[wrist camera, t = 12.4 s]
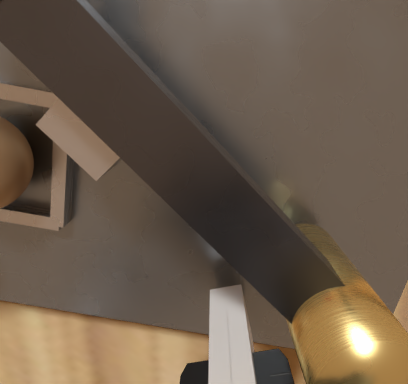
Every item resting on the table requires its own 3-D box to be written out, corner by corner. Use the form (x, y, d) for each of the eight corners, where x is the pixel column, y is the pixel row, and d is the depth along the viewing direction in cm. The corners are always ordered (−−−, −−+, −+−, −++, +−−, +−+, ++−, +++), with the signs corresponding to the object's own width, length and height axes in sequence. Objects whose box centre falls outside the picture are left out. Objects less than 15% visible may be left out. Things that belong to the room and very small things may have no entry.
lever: (277, 308, 15) (324, 472, 9) (-68, -27, 11) (-443, -179, 5) (366, 243, 14) (497, 376, 8) (17, -153, 10) (-325, -572, 4)
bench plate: (356, 335, 19) (416, 437, 14) (-83, 261, 19) (-214, 337, 13) (563, -182, 12) (876, -422, 6) (-148, -340, 11) (-514, -774, 6)
